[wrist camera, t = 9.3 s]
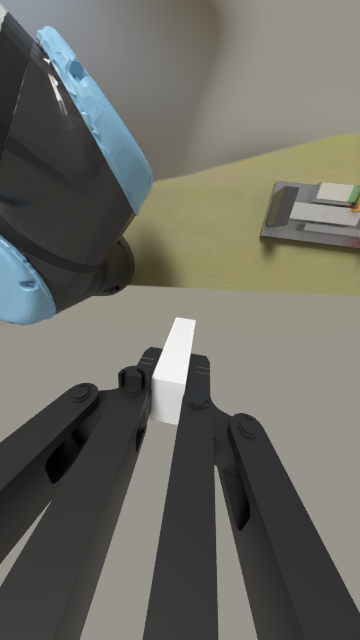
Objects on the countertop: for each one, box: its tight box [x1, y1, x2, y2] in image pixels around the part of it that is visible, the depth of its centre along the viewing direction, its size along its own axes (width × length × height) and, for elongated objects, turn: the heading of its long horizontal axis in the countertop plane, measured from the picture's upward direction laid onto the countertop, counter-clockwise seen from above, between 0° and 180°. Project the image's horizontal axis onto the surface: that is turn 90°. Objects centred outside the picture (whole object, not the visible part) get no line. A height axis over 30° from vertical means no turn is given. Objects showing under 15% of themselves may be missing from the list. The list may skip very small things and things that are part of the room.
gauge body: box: [260, 181, 360, 248], centre depth 28 cm, size 20×8×4 cm, turn 83°
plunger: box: [266, 186, 360, 227], centre depth 27 cm, size 13×7×4 cm, turn 83°
